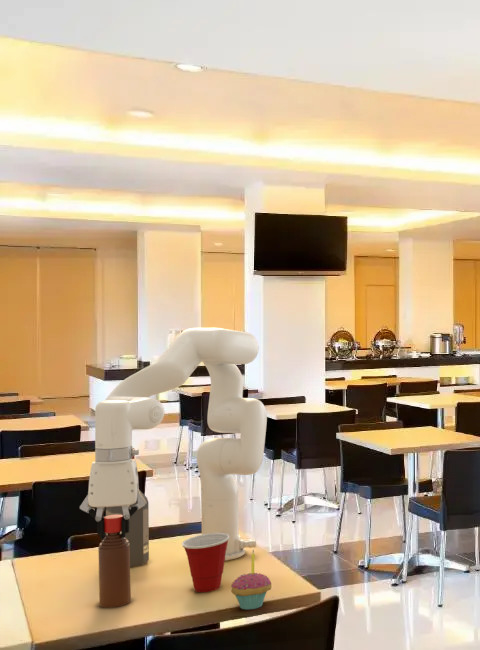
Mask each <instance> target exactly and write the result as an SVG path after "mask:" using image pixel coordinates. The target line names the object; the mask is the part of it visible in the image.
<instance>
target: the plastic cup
mask: <svg viewBox="0 0 480 650" xmlns="http://www.w3.org/2000/svg"><path fill="white" fill-rule="evenodd" d="M229 538H230V536H229V534H225V533H209V534H203V535H202V534H199V535H195V536H192V537H188V538H186V539H185V540H183V541H182V542H181V546H182V548H183V549H184V551H185V554H186V556H187V562H188V566H189V572H190V576H191V579H192V586H193V589H194V591H195V592H196V593H209V592H213V591H214V592H215V591H217V590H219V589H220V588H221V585H222V579H223V574H224V567H225V562H226V561H225V554H226V550H227V543H228V539H229Z"/></svg>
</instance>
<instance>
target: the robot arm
mask: <svg viewBox="0 0 480 650" xmlns="http://www.w3.org/2000/svg"><path fill="white" fill-rule="evenodd" d="M259 349H260V347H259V342H258V339H257V338H256V337H255V335H253V334H252V333H251V332H248V331H241V330H235V329H227V328H222V327H192V328H187V329H184V330H183V331H182V332H180V333H179V334H178V335H177V337H176V338H175V339H174V340H173V341H172V342H171V343H170V345H169V346H168V347H167V348H166V350H165V351H164V352H163V353H162V354H161V355H160V356H159V358H158V359H157V360H156V361H155V362H154V363H152V364H150V365H147V366H145V367H144V368H142V369H140V370H138V371H137V372H135V373H133V374H131V375H129V376H128V377H126V378H124V379H123V380H122V381H121V382H120V383H119V384H117V385H116V386H115V388H113V389H112V391H111V392H110V393H109V395H108V396H107V397H106V398H105V400H102V401H99V402H98V403H96V405H95V410H94V411H95V414H94V415H95V417H94V418H95V419H94V420H95V421H94V423H95V425H94V426H95V427H94V429H95V430H94V432H95V433H94V437H95V438H94V441H95V442H94V445H95V446H94V449H95V450H94V461H92V462H91V466H90V471H89V479H88V491H87V495H86V497H85V498H84V499H83V501H82V503H80V505H79V510H81V511H83V512H85V513H87V514H89V515H90V516H91V517H92V518H93V519H94V520H95V521H96V535H98V536H99V539H100V540H104V537H106V533H105V532H104V517H105V515H104V514H105V510H106V507H114V506H122V509H123V515H124V516H123V520H122V537H126V535H127V533H129V531H130V517H131V516H132V515H133V514H134V513H135V512H136V511H137V510H138V509H140V508H142V507H143V506H145V505H146V503H147V502H146V500H145V499H144V497H143V496H142V494H141V493H140V492H139V490H140V489H139V488H140V486H139V473H138V471H139V470H138V465H137V461H136V459H135V458H134V459H132V457H133V456H134V457H135V456H139V454H140V450H139V448H134V447H133V430H150V429H153V428H156V427H157V426H159V425H160V424H161V423H162V422H163V419H164V417H165V408H164V405H163V403H162V402H160V400H158V399H156V398H154V397H152V396H155V395H158V394H159V395H160V394H163V393H166V392H169V391H171V390H175V389H177V388H179V387H181V386H183V385H184V384H185V383H186V382H187V380H188V379H189V378H190V377H191V375H192V374H193V373H194V371H195V370H196V369H197V368H198V366H200V364H201V363H203V364H204V366H205V368H206V370H207V372H208V374H209V378H210V387H209V399H208V408H207V419H206V420H207V426H208V428H209V429H210V430H211V431H212V432H215V433H222V434H240V437H239V438H236V437H235V438H234V437H212V438H208V439H206V440H204V441H203V442H201V443H200V444H199V446H198V448H197V451H196V465H197V469H198V473H199V478H200V500H201V501H200V504H201V507H200V508H201V509H200V511H201V515H200V516H201V519H200V521H201V535H203V534H209V533H225V534H229V536H230V538H229V539H228V543H227V550H226V554H225V561H224V562H226V561H231V560H236V559H239V558H241V557H243V556H244V555H245V553H246V549H245V548H249V549H251V548H257V540H256V539H252V538H247V539H243V538H242V536H241V535H242V534H240V528H239V527H240V521H239V520H240V517H239V516H240V515H239V514H240V513H239V512H240V511H239V508H240V507H239V486H238V483H237V481H236V479H235V477H234V475H236V476H237V475H238V476H250V475H251V476H252V475H254V474H256V473H257V472H258V471H259V470H260V468H261V466H262V464H263V459H264V454H265V446H266V445H265V444H266V436H267V435H266V434H267V433H266V432H267V422H268V415H267V414H268V413H267V411H266V406H265V405H264V403H263V402H262V401H261V400H259V399H258V398H253V397H244V396H243V395H244V377H243V375H242V372H241V370H240V369H239V367H238V366H237V365H248V364H250V363H252V362H254V360H255V359H256V358H257V356H258V354H259ZM133 448H134V449H133ZM136 500H137V501H138V503H137V504H136V505H134V506H133V507H132V508H131V509H130V505H132V504H134V503H136Z"/></svg>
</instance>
